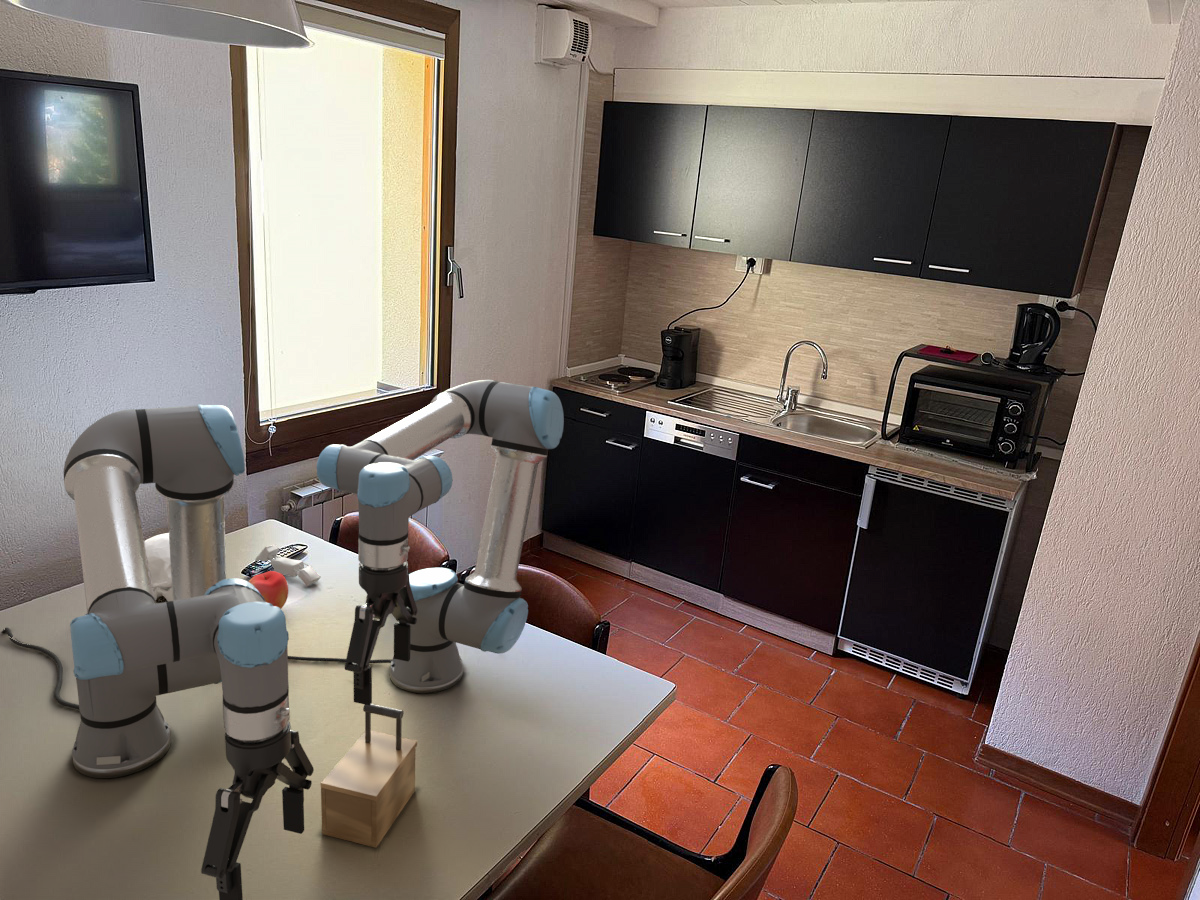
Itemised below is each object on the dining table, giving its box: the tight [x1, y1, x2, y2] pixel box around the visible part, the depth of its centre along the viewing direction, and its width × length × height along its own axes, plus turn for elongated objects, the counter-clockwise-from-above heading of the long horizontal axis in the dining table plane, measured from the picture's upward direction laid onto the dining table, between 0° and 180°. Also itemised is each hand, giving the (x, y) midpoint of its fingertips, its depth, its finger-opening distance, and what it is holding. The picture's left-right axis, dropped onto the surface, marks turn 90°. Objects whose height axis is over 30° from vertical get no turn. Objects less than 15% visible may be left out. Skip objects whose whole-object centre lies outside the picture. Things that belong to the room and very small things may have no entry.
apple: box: [248, 570, 289, 610], centre depth 199 cm, size 10×10×10 cm
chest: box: [320, 747, 417, 849], centre depth 141 cm, size 14×10×9 cm
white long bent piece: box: [254, 544, 322, 587], centre depth 219 cm, size 20×4×7 cm, turn 62°
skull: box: [144, 532, 173, 602], centre depth 203 cm, size 13×22×16 cm, turn 73°
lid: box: [320, 703, 418, 801], centre depth 139 cm, size 15×10×8 cm, turn 167°
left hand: (264, 866), depth 111 cm, fingers open, 13 cm apart
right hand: (383, 680), depth 140 cm, fingers open, 13 cm apart
